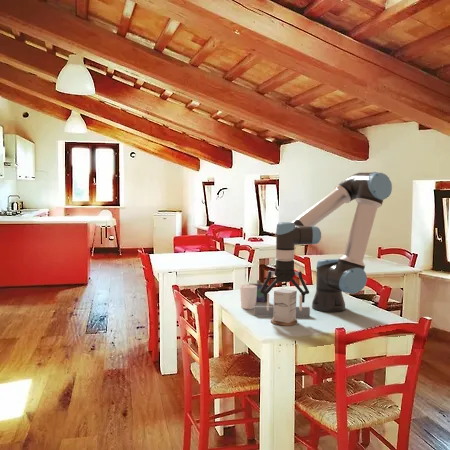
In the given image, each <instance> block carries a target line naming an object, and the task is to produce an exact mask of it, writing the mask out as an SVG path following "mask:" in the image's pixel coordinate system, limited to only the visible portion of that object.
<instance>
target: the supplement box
mask: <svg viewBox="0 0 450 450" xmlns="http://www.w3.org/2000/svg"><path fill="white" fill-rule="evenodd" d="M297 292H298V290H295V289H293V290H292V289H287V288H278V289H276V290H274V292H273V306H274V311H273V316H272V318H273V321H279V322H284V323H290V322H292V321H294V320H297V316H296V307H297Z"/></svg>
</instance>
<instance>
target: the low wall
mask: <svg viewBox="0 0 450 450" xmlns="http://www.w3.org/2000/svg"><path fill="white" fill-rule="evenodd" d="M253 310H254V311H253V312H254V313H253V315H254V317H273V311H274V305H273V306H272V305H269V311H267V305H256V306H255V308H254V309H253ZM310 314H311V308H310V306H302V311H300V310H299V306H296V318H297V317H303V318H305V317H306V318H307V317H308V318H309V317H310V316H311V315H310Z"/></svg>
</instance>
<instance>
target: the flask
mask: <svg viewBox="0 0 450 450" xmlns="http://www.w3.org/2000/svg"><path fill="white" fill-rule="evenodd" d="M263 284H264V283H263V282H261V279H258V280H256V283H253V282H252V283H249V284H248V285H256V286H257V298H256V303H265V304H267V302H265V301H264V294H263V293H260V289H261V287H262V285H263ZM268 287H269V286H268V284H267V286H266V288H265V290H266V289H267V288H268Z"/></svg>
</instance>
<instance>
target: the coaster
mask: <svg viewBox="0 0 450 450" xmlns="http://www.w3.org/2000/svg"><path fill="white" fill-rule="evenodd" d="M270 323H271V324H272V325H274V326H278V325H279V326H280V327H291V326H292V327H293V326H295V325H298V320H297V319H296V320H294V321H292V322H290V323H284V322H279V321H273V317H272V318H271V319H270Z"/></svg>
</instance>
